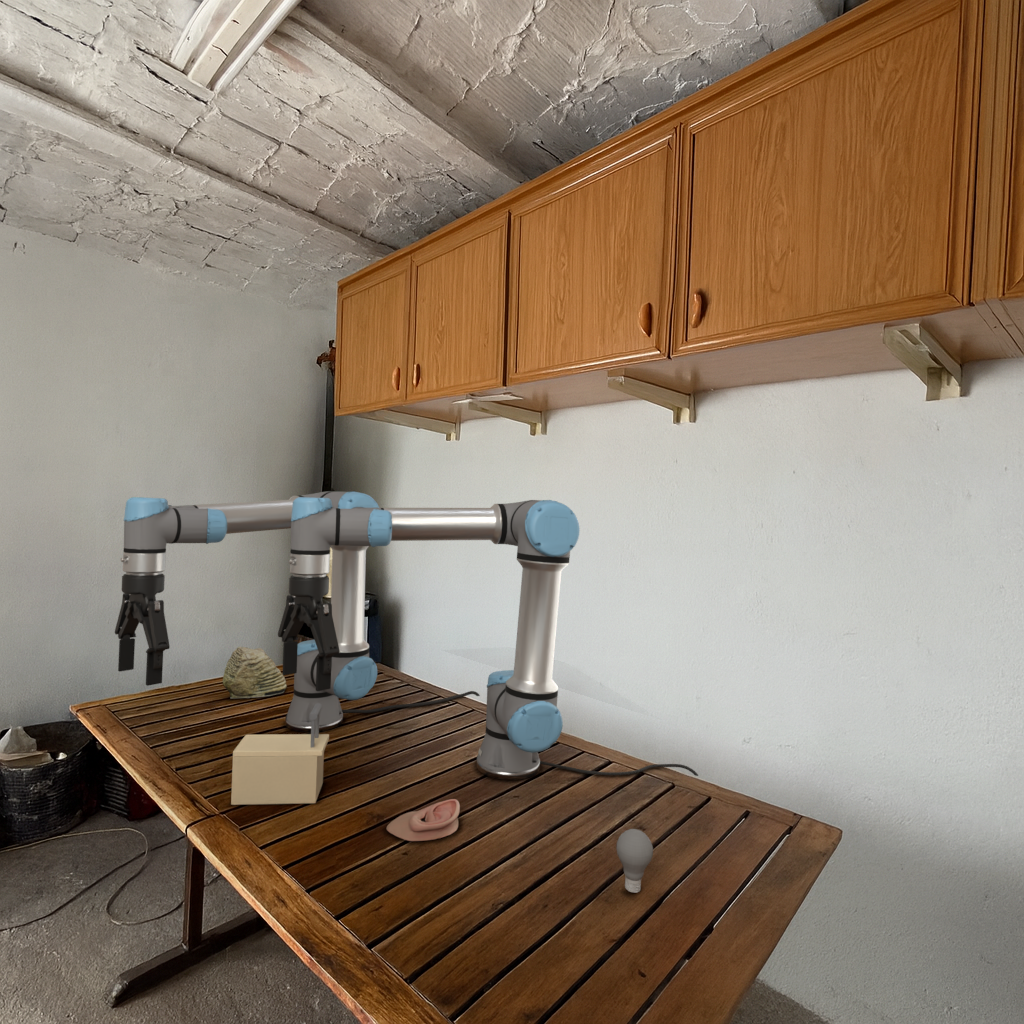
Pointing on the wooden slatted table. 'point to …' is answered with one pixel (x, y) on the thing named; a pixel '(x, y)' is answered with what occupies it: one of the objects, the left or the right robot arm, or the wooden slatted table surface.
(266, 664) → the fossil
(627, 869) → the light bulb
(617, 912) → the wooden slatted table surface
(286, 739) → the lid
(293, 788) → the chest
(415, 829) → the anatomical model
